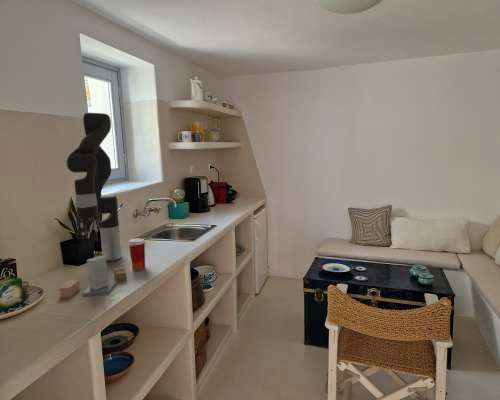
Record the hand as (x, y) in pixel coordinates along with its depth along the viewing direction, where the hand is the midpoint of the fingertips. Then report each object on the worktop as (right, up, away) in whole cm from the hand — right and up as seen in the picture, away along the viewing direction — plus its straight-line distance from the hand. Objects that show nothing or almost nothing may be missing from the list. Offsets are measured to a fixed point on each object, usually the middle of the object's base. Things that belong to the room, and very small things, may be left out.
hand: (90, 244), depth 138 cm
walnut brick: (+8, -17, +12) cm, 22 cm away
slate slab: (+3, -19, +1) cm, 20 cm away
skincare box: (+3, -18, 0) cm, 18 cm away
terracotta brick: (-7, -19, -2) cm, 21 cm away
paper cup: (+11, -15, +24) cm, 31 cm away
